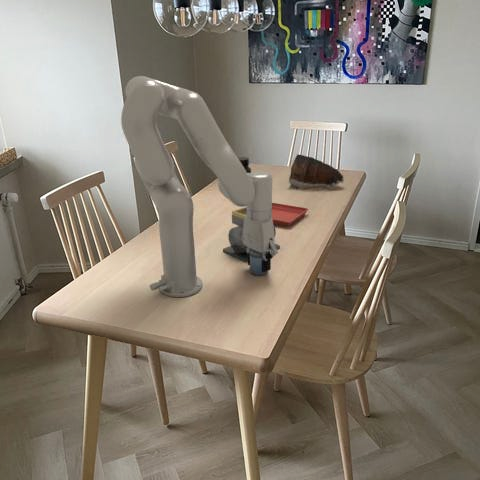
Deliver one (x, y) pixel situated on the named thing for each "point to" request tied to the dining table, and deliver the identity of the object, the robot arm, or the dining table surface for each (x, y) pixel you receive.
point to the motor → (239, 236)
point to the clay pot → (313, 173)
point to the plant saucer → (286, 214)
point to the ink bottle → (245, 163)
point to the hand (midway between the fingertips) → (259, 266)
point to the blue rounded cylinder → (256, 262)
